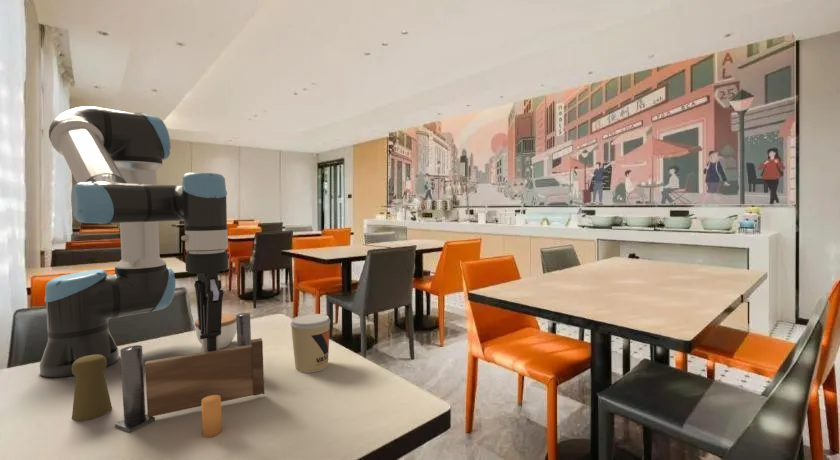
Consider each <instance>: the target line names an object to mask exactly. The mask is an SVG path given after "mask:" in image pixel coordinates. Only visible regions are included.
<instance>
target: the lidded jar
mask: <svg viewBox="0 0 840 460" xmlns="http://www.w3.org/2000/svg"><path fill="white" fill-rule="evenodd" d="M236 315H237V314H236ZM236 315H235V314H231V313H222V319H221V335H219V336H218V347H219V349H223V348H226V347H228V346H229V345H230V343H231V342H232V341H233V340H234V338H235V336H236V335H237V323H236ZM194 325H195V326H194V327H195V335H196V337H197V338H196V339H197V341H198V342H199V343H200V344H201V345H202V339H200V335H201V330H199V328H198V326H199V322H198V319H196V320H195V321H194Z"/></svg>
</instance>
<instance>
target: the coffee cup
mask: <svg viewBox="0 0 840 460" xmlns="http://www.w3.org/2000/svg"><path fill="white" fill-rule="evenodd" d="M330 324H331V319H330V317H329V316H328V315H326V314H323V313H307V314H301V315H299V316H295V317H294V318H292V319H291V322H290V327H291V338H292V347H293V359H294V366H295V370H296V371H297V372H300V373H305V374H309V373H317V372H321V371H323V370H325V369H326V368H327V367H328V365H329V353H330V352H329V351H330V328H331V327H330Z"/></svg>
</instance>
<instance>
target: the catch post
mask: <svg viewBox="0 0 840 460" xmlns="http://www.w3.org/2000/svg"><path fill="white" fill-rule="evenodd" d="M201 404H202V406H201V423H202V436H203V437H205V438H213V437H215V436H218V435H221V433H222V432H223V419H222V416H223V414H222V402H221V396H220V395H211V396H207V397H205V398H203V399H202V400H201Z"/></svg>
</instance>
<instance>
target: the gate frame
mask: <svg viewBox="0 0 840 460" xmlns="http://www.w3.org/2000/svg"><path fill="white" fill-rule="evenodd" d="M236 323H237V330H236V347H241V346H247V345H251V340H252V335H251V334H252V333H251V332H252V331H251V328H252V327H251V326H252V325H251V313H249V312H244V313H238V314H236ZM119 351H120V352H119V353H120V367H121V372H120V373H121V386H122V387H121V388H122V389H121V390H122V405H123V420H121V421H120V420H119V421H117V422H116V423H114V428H117V429H119V430H122V431H124V432H127V433H132V432H134V431H136V430H138V429H140V428H143V427H145V426H147V425H148V424H151V423H153V422H155V421H156V416H152V417H148V413H146V395H145V378H144V373H145V372H144V358H143V357H144V355H143V346H142V345H139V344H138V345H130V346H126V347H123V348H121V349H120V350H119Z"/></svg>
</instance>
